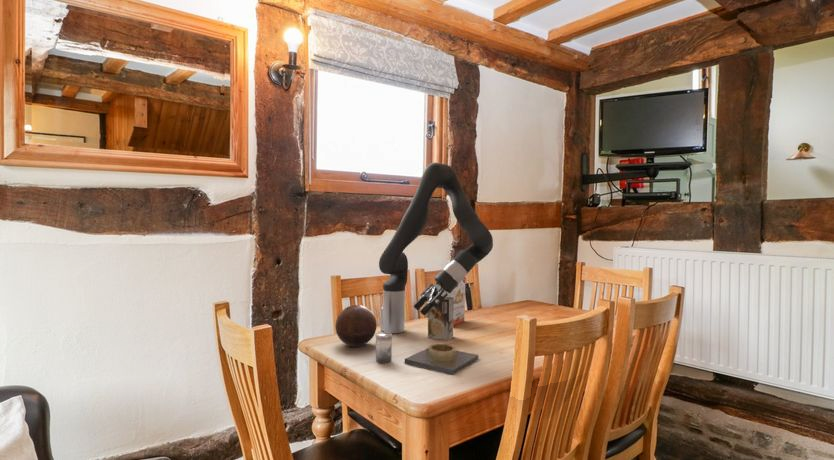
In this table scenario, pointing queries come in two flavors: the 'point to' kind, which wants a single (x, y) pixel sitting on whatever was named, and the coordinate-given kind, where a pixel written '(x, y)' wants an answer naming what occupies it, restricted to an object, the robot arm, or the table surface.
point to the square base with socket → (442, 359)
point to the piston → (383, 347)
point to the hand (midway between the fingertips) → (418, 310)
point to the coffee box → (441, 320)
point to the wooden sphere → (355, 325)
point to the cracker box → (458, 302)
